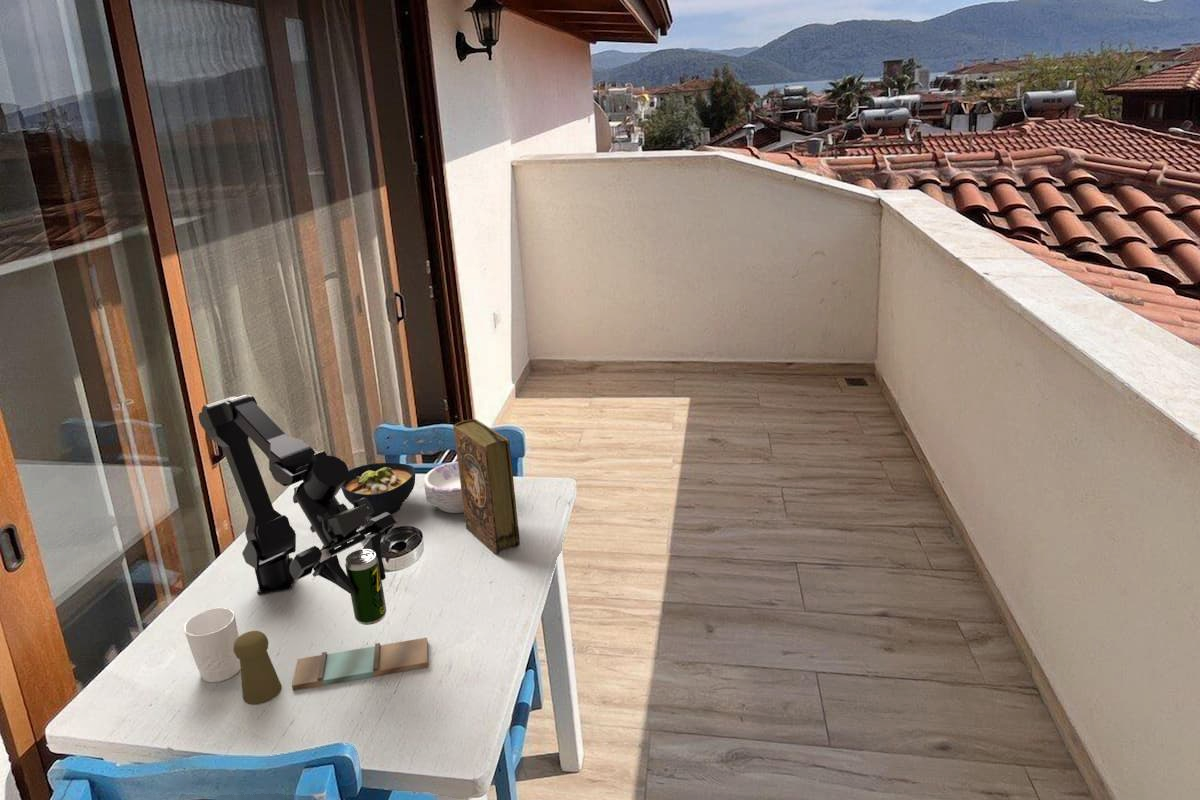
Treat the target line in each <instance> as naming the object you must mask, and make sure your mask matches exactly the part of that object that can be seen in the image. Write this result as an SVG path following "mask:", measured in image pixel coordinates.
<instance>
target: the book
mask: <svg viewBox="0 0 1200 800" xmlns="http://www.w3.org/2000/svg"><path fill="white" fill-rule="evenodd" d="M452 426H453V434H454V441H455V451H456V458H457V462H458V468H459V475H460V483H461V491H462V499H463V507H464V512H463V513H464V520H465V521H464V522H465V529H466V530H467V531H468V532H469V533H470V532H471V533H472V534H471V533H470V534H471V535H473V537H475V538H476V539H477V540H479V542H480V543H482V545H484V546H485V547H486V548H487V549H488V550H490V551H491V552H492V553H493V554H495V555H498V554H499V553H500V552H502V551H503V550H506V549H508V548H509V549H510V548H513V547H519V546H521V545H520V544H521V543H520V542H521V539H520V530H519V529H520V528H519V522H518V511H517V500H516V493H515V483H514V476H513V475H514V473H513V465H512V464H513V463H512V462H513V461H512V454H511V447H510V446H511V445H510V444H511V443H510V440H509V438H506V437H504V436H503V435H502V434H500V433H498V432H497V431H495V430H494V429H492V428H491V427H489V426H488V425H486V424H484V423H482V422H481V421H479V420H478V419H473V418H472V419H466V420H462V421H458V422H456V423H454V424H453V425H452Z"/></svg>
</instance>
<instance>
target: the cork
mask: <svg viewBox="0 0 1200 800" xmlns="http://www.w3.org/2000/svg"><path fill="white" fill-rule="evenodd" d="M268 649H269V639H268V637H267V636H266V634H265V633H264V632H262V631H260V630H251V631H247V632H245V633H242V634H240V635H239V637H238V638H237V639H236V641H235V643H234V653H235V655H236V657H237V658H238V659H240V668H241V669H240V678H241V690H242V691H241V692H242V699H243V701H244V703H246V704H248V705H251V706H255V705H257V706H258V705H263V704H266V703H268V702H270V701H272V700H273V699H275V698H276V697H277V696H278V695H279V694H280V693H281V691H282V689H283V688H282V687H283V686H282V683H281V681H280V679H279V677H278V674H277V671H276V669H275V667H274V665H273V662H272V659H271V658H270V654H269V653H268Z"/></svg>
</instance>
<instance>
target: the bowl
mask: <svg viewBox="0 0 1200 800" xmlns="http://www.w3.org/2000/svg"><path fill="white" fill-rule="evenodd" d="M415 484H416V469H415V467H414V466H412V465H410V464H407V463H399V462H398V463H397V462H378V463H377V462H376V463H370V464H364V465H363V464H362V465H360V466H357V467H354V468H351V469H350V470H349V469H348V477H347V479H346V481H345V482H344V484H343V485H342V487H341V488H340V490H341V491H342V493H343V496H344V497H345V499H346V500H347V501H348V503H350V504H351V505H353V506H354V504H353V503H354V502H355V501H357V500H360V499H362V498H365V497H366V498H367V500H368V501H369V503H370V504H371V506H372V508H373V511H374V513H373V514H372V515H370V516H369V518H374V517H377V516H379V515H381V514H383V513H385V512H388V513H390V514H392V515H395V514H396V513H398V512H399V511H400V510H401V508H402V506H403V504H404V503H405V501H406V500H407V499H408V498H409V497H410V495H411V493H412V492H413V490H414V488H415Z"/></svg>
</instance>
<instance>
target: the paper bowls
mask: <svg viewBox="0 0 1200 800" xmlns="http://www.w3.org/2000/svg"><path fill="white" fill-rule="evenodd" d="M423 486H424V492H425V498H426V501H427V503H429V504H430V505H433V506H435V507H437V508H438V509H439V510H440V511H442V512H445V513H448V514H449V513H450V514H459V513H460V514H462V513H464V507H463V499H462V491H461V483H460V475H459V468H458V461H452V462H447V463H444V464H442V465H441V464H440V465H438V466H436V467H434V468H432V469H431V470H429V471H428V472H427V473H426V474H425V476H424V479H423Z"/></svg>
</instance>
